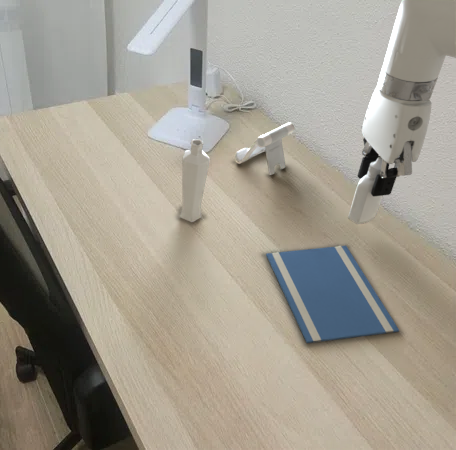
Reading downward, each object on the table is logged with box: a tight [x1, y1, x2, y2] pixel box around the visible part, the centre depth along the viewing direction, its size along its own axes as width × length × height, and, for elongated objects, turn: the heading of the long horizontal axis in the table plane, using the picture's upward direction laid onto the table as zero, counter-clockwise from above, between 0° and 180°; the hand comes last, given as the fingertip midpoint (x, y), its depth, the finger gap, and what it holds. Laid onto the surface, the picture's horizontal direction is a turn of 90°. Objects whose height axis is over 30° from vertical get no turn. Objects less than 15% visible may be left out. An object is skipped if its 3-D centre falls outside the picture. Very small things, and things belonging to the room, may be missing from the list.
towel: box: [265, 245, 400, 344], centre depth 85 cm, size 14×18×1 cm
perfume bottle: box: [179, 138, 211, 223], centre depth 93 cm, size 5×4×15 cm
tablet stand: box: [234, 122, 296, 176], centre depth 108 cm, size 9×8×8 cm
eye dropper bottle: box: [347, 157, 384, 225], centre depth 91 cm, size 4×6×12 cm
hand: (373, 184), depth 91 cm, fingers closed on eye dropper bottle, 4 cm apart
